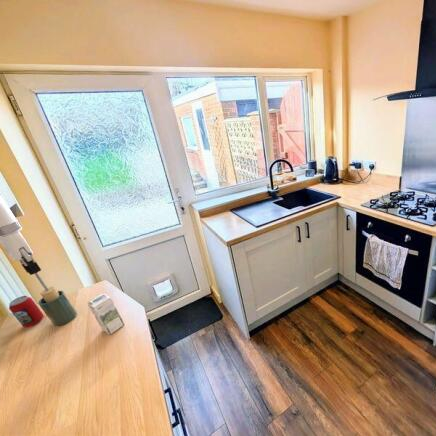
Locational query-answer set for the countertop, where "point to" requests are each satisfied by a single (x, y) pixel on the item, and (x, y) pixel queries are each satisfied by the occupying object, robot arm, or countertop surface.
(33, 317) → the beverage can
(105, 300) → the syrup box
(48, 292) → the bottle brush
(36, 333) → the countertop surface
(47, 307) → the dark green mug
